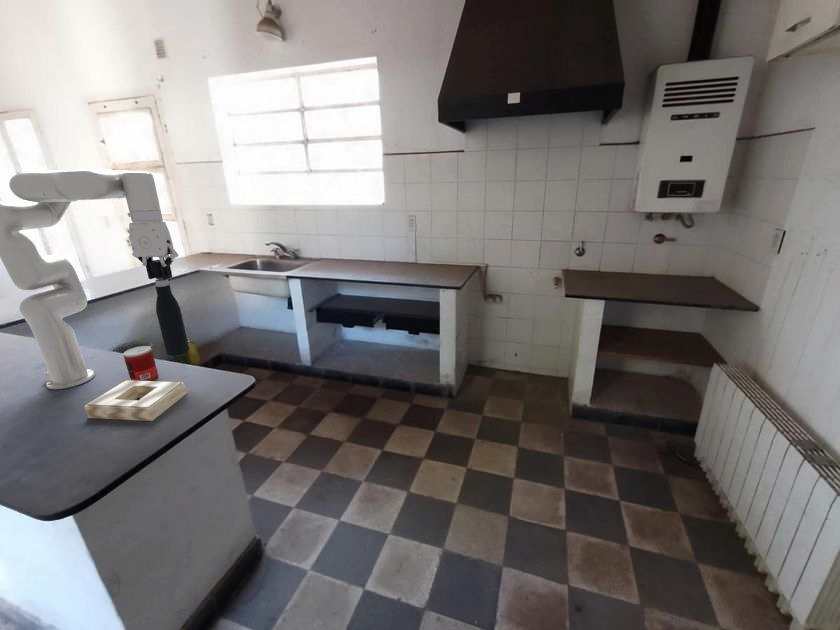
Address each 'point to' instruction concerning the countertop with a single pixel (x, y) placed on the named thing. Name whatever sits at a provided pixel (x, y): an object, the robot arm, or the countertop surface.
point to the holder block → (126, 407)
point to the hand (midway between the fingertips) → (160, 277)
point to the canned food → (141, 364)
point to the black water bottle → (169, 315)
